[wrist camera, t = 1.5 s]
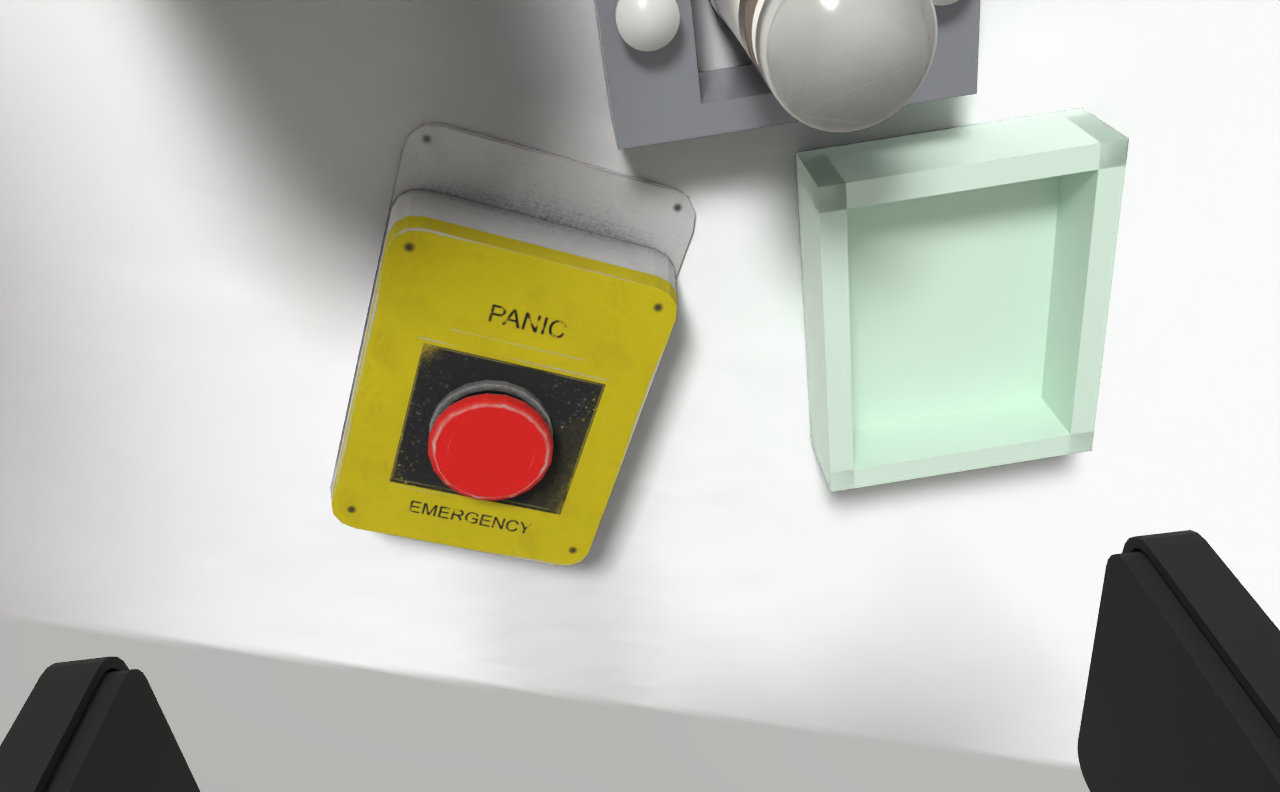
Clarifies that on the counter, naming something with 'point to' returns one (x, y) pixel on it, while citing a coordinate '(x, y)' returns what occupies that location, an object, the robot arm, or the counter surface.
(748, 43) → the fuse
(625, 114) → the block
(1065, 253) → the tray
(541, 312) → the emergency button
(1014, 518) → the counter surface
